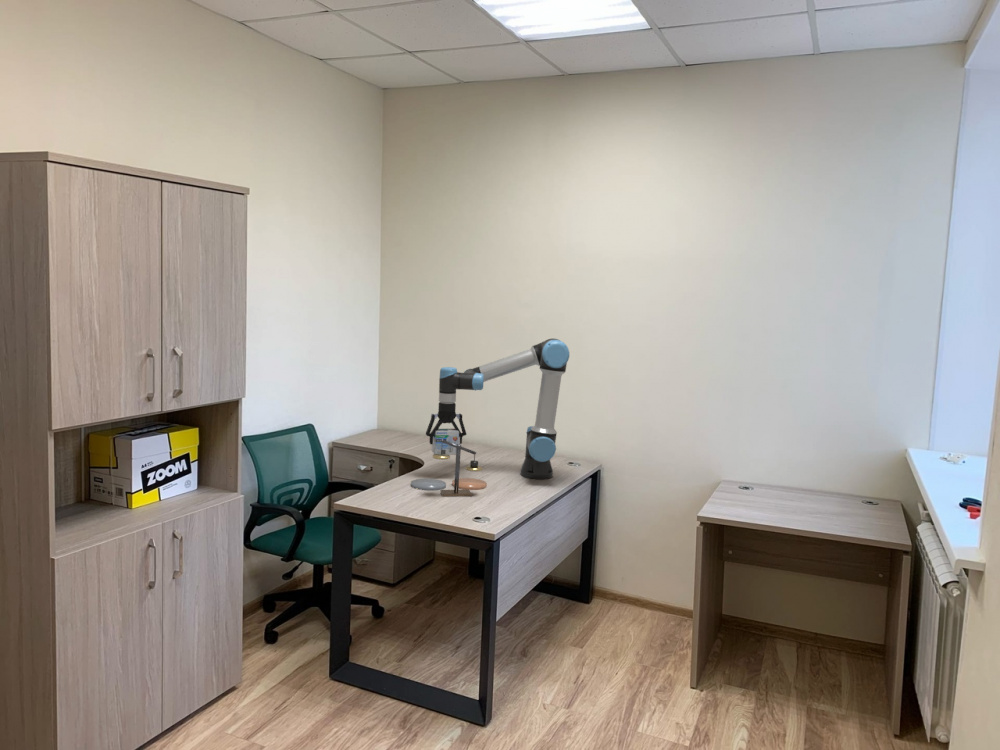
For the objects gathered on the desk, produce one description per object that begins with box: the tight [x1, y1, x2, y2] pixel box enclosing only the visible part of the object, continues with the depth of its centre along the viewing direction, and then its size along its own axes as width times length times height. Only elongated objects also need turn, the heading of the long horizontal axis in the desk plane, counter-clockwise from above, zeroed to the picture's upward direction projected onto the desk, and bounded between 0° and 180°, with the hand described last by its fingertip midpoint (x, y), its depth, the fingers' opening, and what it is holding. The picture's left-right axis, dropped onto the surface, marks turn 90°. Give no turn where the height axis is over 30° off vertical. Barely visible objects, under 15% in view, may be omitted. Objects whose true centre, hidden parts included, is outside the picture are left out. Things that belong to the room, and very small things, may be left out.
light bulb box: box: [432, 428, 459, 456], centre depth 341 cm, size 11×7×11 cm, turn 105°
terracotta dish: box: [451, 477, 488, 491], centre depth 333 cm, size 15×15×1 cm
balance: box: [432, 439, 483, 498], centre depth 316 cm, size 21×7×23 cm, turn 106°
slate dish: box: [410, 477, 447, 491], centre depth 328 cm, size 15×15×1 cm
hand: (445, 451), depth 342 cm, fingers closed on light bulb box, 11 cm apart
